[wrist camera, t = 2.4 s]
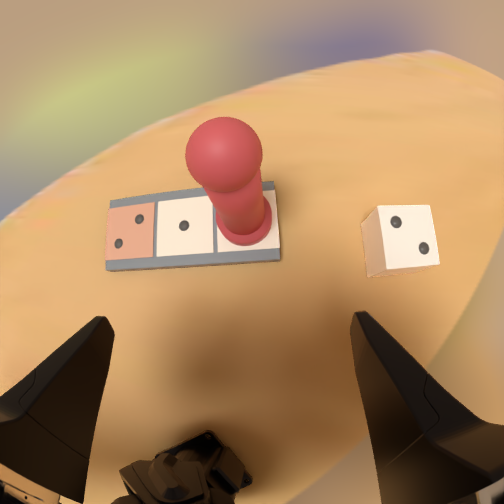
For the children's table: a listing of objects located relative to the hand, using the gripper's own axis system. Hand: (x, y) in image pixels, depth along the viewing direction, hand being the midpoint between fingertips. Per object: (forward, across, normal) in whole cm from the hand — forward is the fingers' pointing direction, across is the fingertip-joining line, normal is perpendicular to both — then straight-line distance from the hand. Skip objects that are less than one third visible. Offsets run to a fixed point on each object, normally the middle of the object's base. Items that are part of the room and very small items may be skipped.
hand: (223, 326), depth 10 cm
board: (+15, +5, +4) cm, 16 cm away
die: (+13, -12, +6) cm, 18 cm away
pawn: (+14, 0, +3) cm, 14 cm away
